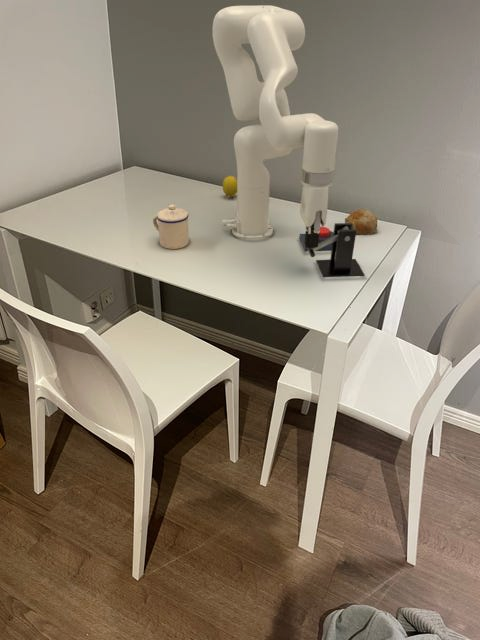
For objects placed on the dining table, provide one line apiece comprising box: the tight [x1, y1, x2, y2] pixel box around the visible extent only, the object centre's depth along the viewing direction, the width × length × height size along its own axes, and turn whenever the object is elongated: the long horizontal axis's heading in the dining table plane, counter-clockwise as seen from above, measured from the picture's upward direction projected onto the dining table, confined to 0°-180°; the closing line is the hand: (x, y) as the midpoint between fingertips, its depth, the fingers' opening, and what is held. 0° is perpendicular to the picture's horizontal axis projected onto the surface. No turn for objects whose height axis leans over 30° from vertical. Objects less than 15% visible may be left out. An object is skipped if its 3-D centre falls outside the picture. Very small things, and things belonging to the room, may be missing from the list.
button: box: [319, 226, 331, 238], centre depth 143 cm, size 4×4×2 cm
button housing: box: [299, 230, 334, 252], centre depth 144 cm, size 11×9×4 cm
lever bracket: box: [315, 222, 365, 278], centre depth 130 cm, size 11×9×13 cm
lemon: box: [222, 174, 237, 198], centre depth 175 cm, size 6×6×8 cm
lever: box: [307, 226, 349, 258], centre depth 128 cm, size 12×6×2 cm, turn 94°
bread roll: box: [344, 209, 378, 236], centre depth 154 cm, size 10×10×8 cm
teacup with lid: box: [152, 204, 190, 250], centre depth 144 cm, size 12×9×12 cm
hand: (311, 246), depth 128 cm, fingers closed
